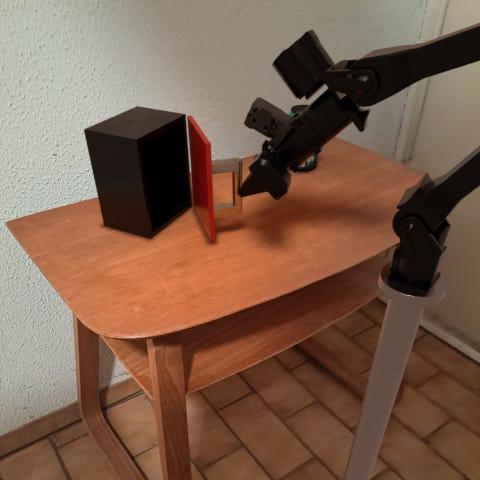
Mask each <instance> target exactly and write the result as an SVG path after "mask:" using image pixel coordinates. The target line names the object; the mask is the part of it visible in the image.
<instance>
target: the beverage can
mask: <svg viewBox="0 0 480 480" xmlns="http://www.w3.org/2000/svg"><path fill="white" fill-rule="evenodd" d="M309 105H310V104H296V105H292V106H291V108H290V112H289V113H288V115H290V116H292V115H294V114H295V113H296V112H297V111H298V112H300V111H303V110H305V109H306V108H307V107H308V106H309ZM318 156H319V154H318V155H315V154H313V155H312V156H311V157H310V158H309V159H307V160H306V161H305V162H304V163H302V165H301V167H300V169H299V170H298V171H297V172H308V171H309V172H310V171H312V170H313V169H314V168H315V167H316V166H317V165H318V158H319V157H318ZM289 170H291V168H290V169H289Z"/></svg>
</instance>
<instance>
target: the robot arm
mask: <svg viewBox="0 0 480 480" xmlns="http://www.w3.org/2000/svg"><path fill="white" fill-rule="evenodd" d="M478 62H480V22H478V23H477V22H476V23H474V24H472V25H469V26H466V27H463V28H461V29H458V30H455V31H453V32H450V33H446V34H444V35H442V36H438V37H436V38H435V37H434V38H433V39H430V40H427V41H425V42H419V43H413V44H403V45H395V46H390V47H384V48H378V49H374V50H371V51H370V52H367V53H366V54H365V55H363V56H362V57H360V58H354V59H341V60H339V61H337V62H336V63H335V62H334V60H333V59H332V57H331V56H330V54H329V53H328V52H327V50H326V49H325V46H324V45H323V44H322V43H321V40H320V38H319V36H318V35H317V33H316V32H315V30H314V29H309V30H307V31H305V32H304V33H303V34H302V35H301V37H299V38H298V39H297V40H295V41H294V42H293V43H292V44H291V45H290V46H288V48H285V49H283V50H282V51H281V52H280V53H279V54H278V55H277V56H276V58H275V59H274V60H273V62H272V63H271V66H272V68H273V69H274V70H275V72H276V73H277V75H278V76H279V78H280V79H281V80H282V82H283V83H284V84H285V85H286V87H287V88H288V90H289V91H290V92H291V94H292V96H293V97H294V98H295V99H296V100H299V101H301V100H302V99H303V98H304V99H305V101H309V100H310V99H311V98H312V97H314V96H315V95H316V94H317V93H319V91H320V90H321V89H323V88H324V87H325V86H326V87H327V89H326V90H324V91H323V92H322V93H321V94H320V95H319V96H318V97H317V98H315V99H314V100H313V101H312V102H310V104H308V105H309V106H308V107H307V108H306V109H305V110H303V111H300V112H298V111H297V112H296V113H295V114H294V115H292V116H290V115H289V113H287V112H285V111H284V110H283V109H282V108H280V107H278V106H276V105H275V104H273V103H271V102H269V101H268V100H266V99H264V98H262V97H260V96H259V97H256V98H255V99H254V101H253V102H252V103H251V105H250V107H249V110H248V112H247V114H246V115H245V119H244V121H243V125H244V126H245V127H246V128H248V129H250V130H254V131H255V132H257V133H260V134H261V135H263V136H264V137H266V138H268V139H269V140H268V139H264V141H263V143H262V145H261V152H260V153H259V154H257V153H256V154H255V155H254V157H253V159H252V161H251V162H250V164H249V166H248V167H247V168H248V171H249V174H248V175H247V177H246V178H245V179H244V180H243V181H242V186H241V188H240V189H239V190H238V192H237V194H238V195H239V196H240V197H241V198H242V199H243V198H246V197H249V196H251V197H252V196H255V195H259V194H264V193H268V194H269V195H270V197H272V198H273V200H275V201H279V200H280V199H281V198H283V197H284V196H286V195H287V194H288V192H289V189H290V187H291V184H292V174H291V173H290V171H292V172H293V173H294V174H296V173H297V172H299V171H298V170H299V169H300V167H301V165H302V163H304V162H305V161H306V160H307V159H309V158H310V157H311V156H312V155H313V154H315V155H318V156H319V154H321V152H322V151H323V148H324V147H325V145H327V144H328V143H330V142H331V141H332V140H334V138H336V136H339V134H340V133H342V132H343V131H344V130H345V129H347V128H348V127H349V126H350V125H352V124H353V125H354V126H355V127H356V129H357V131H359V133H363V132H364V131H365V130H366V129H367V127H368V119H369V115H370V113H371V111H372V110H371V108H369V107H373V106H375V105H378V104H379V103H381V102H383V101H385V100H387V99H389V98H391V97H393V96H395V95H397V94H399V93H400V92H402V91H404V90H405V89H407V88H409V87H410V86H413V85H414V84H416V83H418V82H421V81H422V80H424V79H427V78H430V77H433V76H438V75H439V74H443V73H446V72H449V71H453V70H455V69H460V68H461V67H465V66H468V65H472V64H475V63H478ZM290 168H291V169H290ZM479 187H480V145H478V146H477V147H476V148H474V149H473V150H472V151H471V152H470V153H469V154H468V155H466V156H465V157H464V158H463V159H462V160H460V161H459V162H458V163H457V164H456V165H454V166H453V167H452V168H451V169H450V170H448V171H447V172H446V173H444V174H442V175H441V176H439V177H436V178H432V177H431V176H430V174H429V173H428V172H426V173H425V174H424V175H423V176H422V177H421V178H420V179H419V181H418V182H416V184H414V185H413V186H411V187H409V188H407V189H405V191H404V193H403V195H401V196H402V197H401V198H400V200H399V201H398V203H397V205H396V209H397V210H396V212H395V214H394V216H393V217H392V219H391V221H392V222H391V223H392V224H391V225H392V226H391V227H392V230H393V233H394V234H395V235H396V237H397V238H399V244H398V245H397V246H396V247H395V248H394V250H393V254H392V258H391V261H390V262H391V266H390V271H391V272H392V273H391V274H390V275H389V276H388V280H389V281H391V282H394V283H396V284H399V285H402V286H404V287H407V288H410V289H413V290H415V291H418V292H421V293H423V294H427V293H428V292H429V291H430V289H431V288H432V287H433V285H434V284H435V283H436V281H437V280H438V279H439V277H440V275H441V273H440V272H439V270H440V271H441V267H442V264H443V261H444V258H445V255H446V252H447V249H448V246H447V245H445V244H446V242H447V239H448V236H449V234H450V230H451V228H452V224H451V222H450V221H449V220H448V218H447V217H448V216H449V215H450V214H451V213H452V211H453V210H454V209H455V208H456V207H457V205H458V204H459V203H460V202H461V201H463V200H464V198H466V197H467V196H469V195H470V194H471V193H473V192H474V191H475V190H476V189H478V188H479Z"/></svg>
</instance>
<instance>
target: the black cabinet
mask: <svg viewBox="0 0 480 480" xmlns="http://www.w3.org/2000/svg"><path fill="white" fill-rule="evenodd" d="M83 133H84V138H85V142H86V143H85V144H86V147H87V153H88V156H89V161H90V166H91V170H92V171H91V172H92V175H93V180H94V184H95V189H96V194H97V197H98V198H97V199H98V203H99V208H100V214H101V217H102V223H103V226H104V227H107V228H110V229H114V230H117V231H121V232H124V233H129V234H132V235H135V236H139V237H142V238H146V239H152V238H153V237H155V236H156V235H157V234H159V233H160V232H161V231H162V230H164V229H166V227H169V225H170V224H171V223H173V222H174V221H176V220H177V219H178V218H179V217H180V216H182V215H183V214H184V213H186V212H187V211H189V210H190V209H191V208H192V207H194V204H193V191H192V178H191V164H190V151H189V137H188V124H187V115H186V113H182V112H175V111H169V110H163V109H158V108H157V109H156V108H150V107H145V106H139V105H136V106H134V107H131V108H129V109H128V110H125V111H123V112H120V113H118V114H115V115H114V116H111V117H108V118H106V119H105V120H102V121H100V122H98V123H95V124H92V125H91V126H88V127H85V128H83Z"/></svg>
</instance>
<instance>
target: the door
mask: <svg viewBox="0 0 480 480" xmlns="http://www.w3.org/2000/svg"><path fill="white" fill-rule="evenodd" d="M186 123H187V136H188V150H189V164H190V178H191V191H192V204H193V208H194V210H195V212H196V215H197V216H198V219H199V221H200V223H201V224H202V227H203V229H204V231H205V234H206V235H207V238H208V240H209V242H210V243H211V242H216V232H215V219H218V218H225V217H232V216H239V215H242V214H243V197H242V198H241V197H240V196H239V195H238V194H237V192H238V190H239V189H240V188H241V186H242V183H243V159H242V158H241V157H231V158H222V159H212V143H211V141H210V139H208V136H207V135H206V134H205V132H204V131H203V129H201V127H200V125H199V124H198V123H197V120H195V117H193V115H186ZM227 173H232V174H231V177H232V178H231V180H232V181H231V183H232V184H231V186H232V187H231V188H232V202H224V203H216V204H214V184H213V175H221V174H227Z"/></svg>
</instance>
